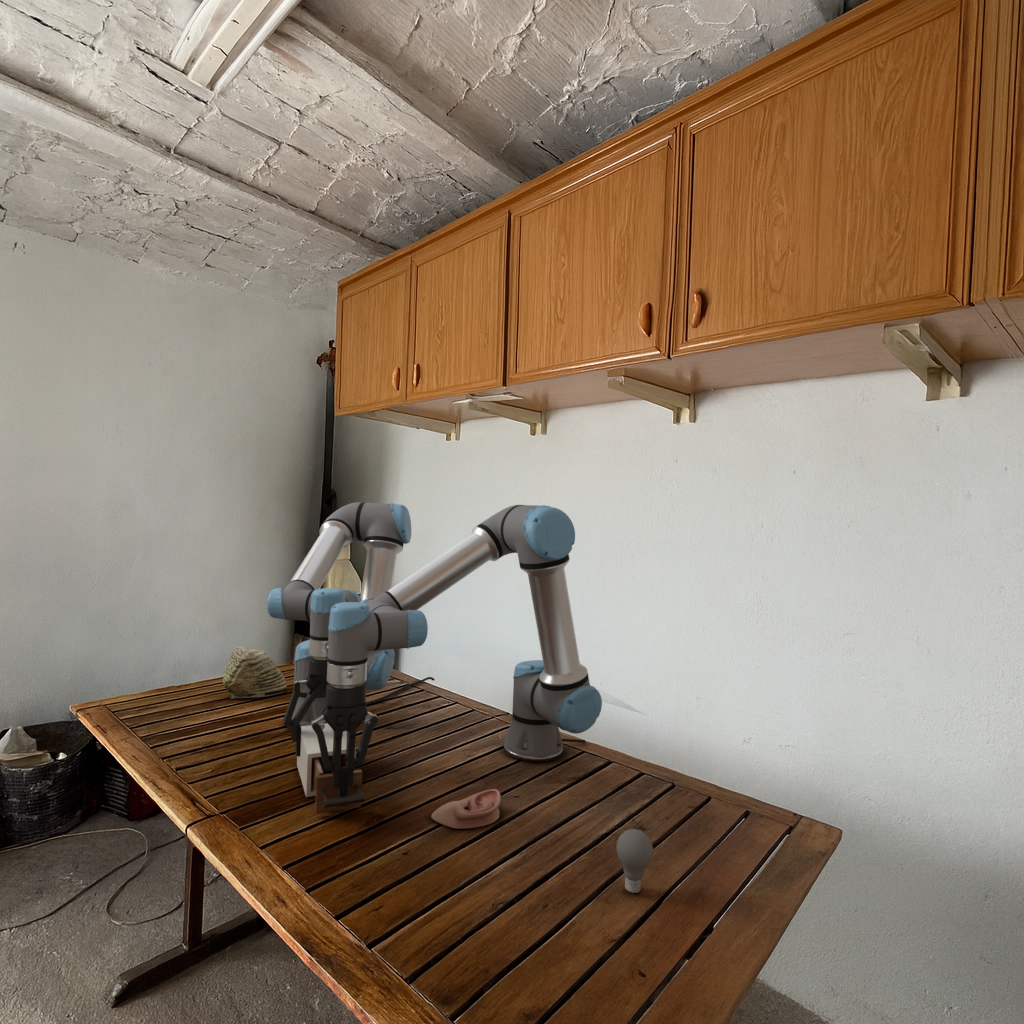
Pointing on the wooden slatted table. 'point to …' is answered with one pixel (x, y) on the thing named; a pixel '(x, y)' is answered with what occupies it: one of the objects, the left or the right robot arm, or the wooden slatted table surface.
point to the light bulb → (634, 857)
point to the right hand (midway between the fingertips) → (341, 802)
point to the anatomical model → (470, 811)
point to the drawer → (328, 793)
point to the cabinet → (314, 753)
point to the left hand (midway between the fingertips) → (322, 751)
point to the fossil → (252, 674)
